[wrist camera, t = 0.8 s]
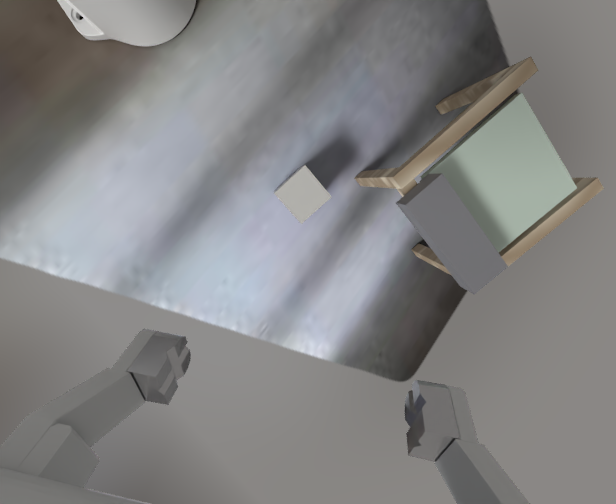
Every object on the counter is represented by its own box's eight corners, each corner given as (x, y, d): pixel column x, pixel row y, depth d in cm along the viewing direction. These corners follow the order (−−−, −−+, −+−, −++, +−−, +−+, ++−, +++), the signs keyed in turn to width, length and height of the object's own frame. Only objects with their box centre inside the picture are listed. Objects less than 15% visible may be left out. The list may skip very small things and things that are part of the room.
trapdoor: (391, 202, 32) (405, 205, 28) (514, 95, 30) (546, 83, 27) (453, 282, 34) (474, 294, 31) (568, 187, 33) (603, 188, 30)
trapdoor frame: (354, 178, 45) (393, 177, 30) (443, 98, 44) (530, 56, 29) (416, 256, 49) (478, 290, 34) (500, 185, 48) (603, 188, 32)
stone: (274, 190, 44) (273, 193, 37) (300, 167, 44) (305, 165, 36) (297, 216, 46) (301, 223, 38) (322, 193, 45) (331, 197, 37)
